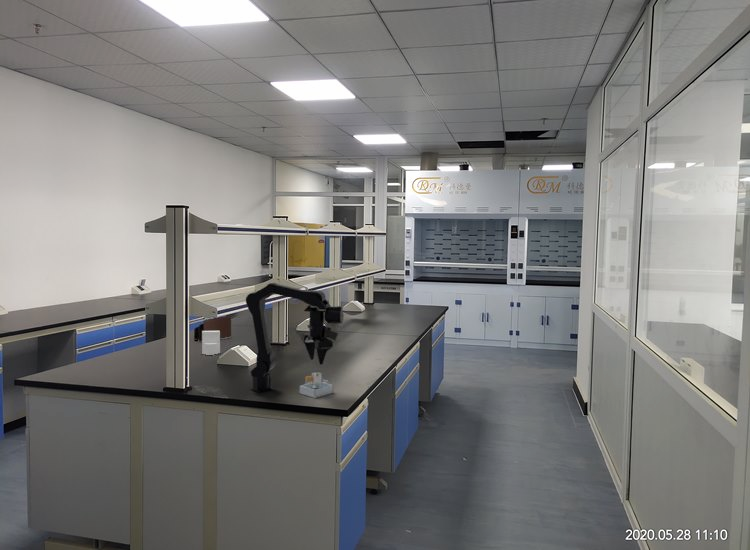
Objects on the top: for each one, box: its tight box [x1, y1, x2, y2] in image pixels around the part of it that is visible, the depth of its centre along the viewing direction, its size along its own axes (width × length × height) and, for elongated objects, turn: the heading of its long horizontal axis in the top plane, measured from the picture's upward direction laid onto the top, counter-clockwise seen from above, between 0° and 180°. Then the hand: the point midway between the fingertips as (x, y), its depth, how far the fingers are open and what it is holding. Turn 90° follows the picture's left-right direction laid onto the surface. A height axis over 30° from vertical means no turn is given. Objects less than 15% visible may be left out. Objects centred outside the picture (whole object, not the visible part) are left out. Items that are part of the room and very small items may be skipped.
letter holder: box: [193, 316, 232, 341], centre depth 316 cm, size 10×20×14 cm, turn 145°
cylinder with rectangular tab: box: [201, 331, 221, 356], centre depth 277 cm, size 9×9×12 cm
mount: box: [304, 376, 329, 385], centre depth 222 cm, size 7×7×2 cm
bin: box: [298, 382, 334, 399], centre depth 209 cm, size 10×9×3 cm
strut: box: [304, 371, 322, 390], centre depth 208 cm, size 4×6×7 cm, turn 119°
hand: (316, 361), depth 208 cm, fingers open, 9 cm apart
